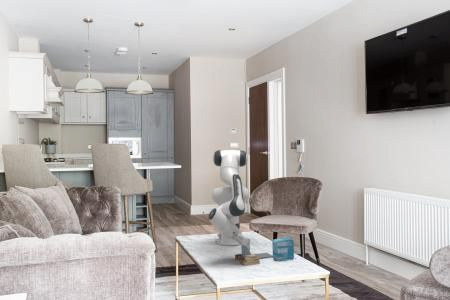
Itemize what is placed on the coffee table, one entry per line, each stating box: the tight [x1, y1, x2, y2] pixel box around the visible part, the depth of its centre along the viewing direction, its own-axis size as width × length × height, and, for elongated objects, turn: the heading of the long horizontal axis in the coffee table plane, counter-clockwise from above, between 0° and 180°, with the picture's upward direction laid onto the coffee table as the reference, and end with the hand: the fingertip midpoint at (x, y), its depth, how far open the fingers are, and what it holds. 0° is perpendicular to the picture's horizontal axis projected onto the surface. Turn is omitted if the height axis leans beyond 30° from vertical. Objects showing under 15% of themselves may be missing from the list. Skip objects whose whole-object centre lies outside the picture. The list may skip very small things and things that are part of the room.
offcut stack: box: [241, 255, 261, 266], centre depth 259 cm, size 5×9×4 cm, turn 111°
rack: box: [234, 252, 257, 264], centre depth 266 cm, size 10×10×3 cm
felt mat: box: [251, 252, 273, 260], centre depth 276 cm, size 10×11×1 cm
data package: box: [271, 237, 295, 262], centre depth 267 cm, size 12×4×12 cm, turn 113°
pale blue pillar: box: [240, 236, 251, 257], centre depth 266 cm, size 6×3×13 cm, turn 21°
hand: (246, 246), depth 267 cm, fingers closed on pale blue pillar, 5 cm apart
